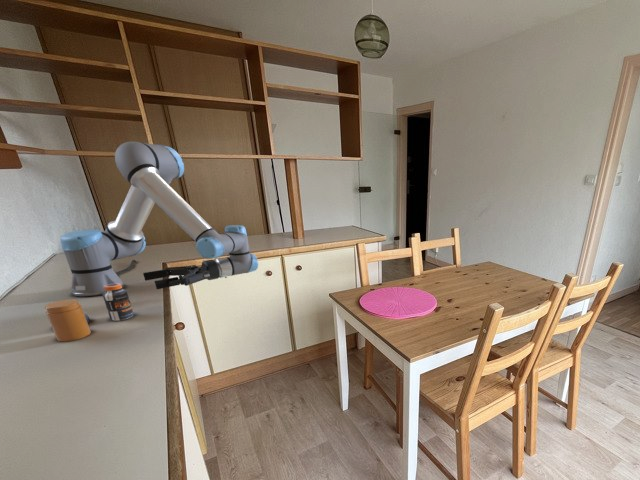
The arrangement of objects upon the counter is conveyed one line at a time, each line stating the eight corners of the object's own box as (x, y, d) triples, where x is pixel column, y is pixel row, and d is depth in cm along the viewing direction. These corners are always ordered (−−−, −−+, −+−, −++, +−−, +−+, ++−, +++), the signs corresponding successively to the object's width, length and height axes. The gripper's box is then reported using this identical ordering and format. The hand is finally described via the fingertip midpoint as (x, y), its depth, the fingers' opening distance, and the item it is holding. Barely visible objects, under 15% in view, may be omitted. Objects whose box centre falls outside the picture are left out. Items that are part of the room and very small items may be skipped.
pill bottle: (120, 322, 99) (109, 288, 95) (105, 320, 100) (94, 286, 96) (138, 314, 105) (129, 282, 101) (124, 312, 106) (114, 281, 102)
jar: (62, 333, 92) (49, 301, 88) (94, 328, 95) (83, 297, 91) (52, 343, 86) (38, 310, 82) (86, 338, 89) (74, 305, 86)
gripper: (232, 285, 115) (164, 300, 100) (205, 272, 130) (142, 283, 115) (228, 265, 112) (158, 277, 97) (201, 254, 127) (137, 263, 112)
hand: (149, 280), depth 106 cm, fingers open, 13 cm apart
